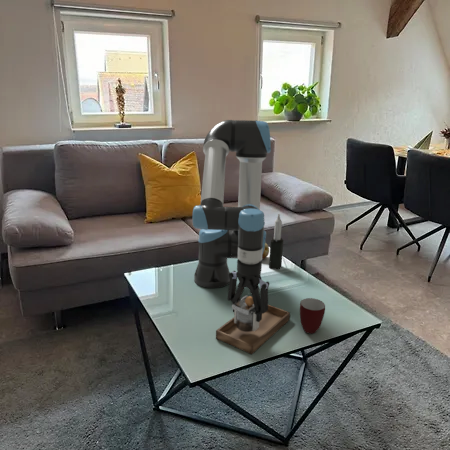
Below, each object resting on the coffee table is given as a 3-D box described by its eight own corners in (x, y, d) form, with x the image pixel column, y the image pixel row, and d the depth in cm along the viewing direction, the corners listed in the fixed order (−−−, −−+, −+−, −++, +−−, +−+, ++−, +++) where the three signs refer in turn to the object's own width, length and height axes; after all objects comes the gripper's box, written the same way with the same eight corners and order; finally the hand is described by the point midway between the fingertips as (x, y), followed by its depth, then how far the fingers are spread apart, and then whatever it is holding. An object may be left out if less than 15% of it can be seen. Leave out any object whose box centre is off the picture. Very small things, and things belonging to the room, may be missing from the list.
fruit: (258, 263, 190) (258, 246, 187) (249, 256, 197) (250, 240, 194) (272, 260, 193) (273, 244, 190) (263, 254, 200) (264, 238, 197)
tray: (215, 338, 133) (216, 330, 132) (256, 307, 152) (256, 300, 151) (251, 354, 126) (252, 346, 125) (289, 320, 145) (290, 312, 144)
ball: (248, 307, 129) (253, 299, 129) (241, 301, 131) (246, 293, 131) (252, 308, 132) (257, 300, 131) (246, 302, 133) (251, 294, 133)
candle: (281, 265, 188) (285, 212, 180) (279, 270, 183) (283, 216, 175) (270, 263, 189) (274, 211, 181) (268, 268, 185) (271, 214, 177)
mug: (302, 318, 146) (305, 292, 143) (325, 323, 143) (328, 298, 140) (295, 333, 137) (297, 307, 134) (319, 339, 134) (322, 312, 131)
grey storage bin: (231, 327, 132) (231, 304, 130) (244, 317, 139) (246, 294, 136) (247, 335, 129) (248, 311, 126) (261, 324, 135) (262, 301, 132)
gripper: (216, 255, 129) (215, 320, 136) (271, 272, 118) (266, 341, 126) (230, 248, 134) (228, 310, 142) (283, 264, 124) (278, 330, 131)
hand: (246, 325), depth 134 cm, fingers closed on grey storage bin, 6 cm apart
